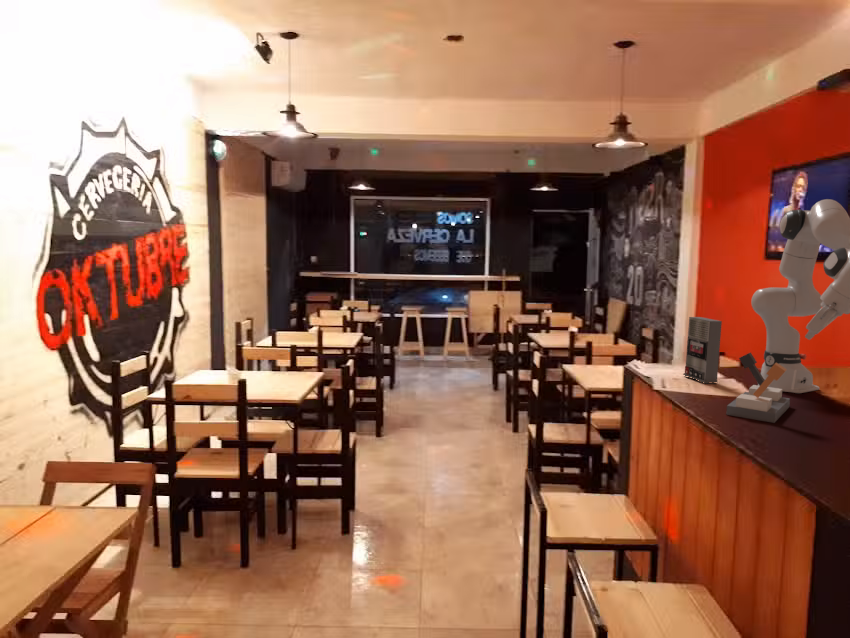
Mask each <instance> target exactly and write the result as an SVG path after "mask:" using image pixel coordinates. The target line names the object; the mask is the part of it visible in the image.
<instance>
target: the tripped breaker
mask: <svg viewBox="0 0 850 638" xmlns="http://www.w3.org/2000/svg"><path fill="white" fill-rule="evenodd" d="M786 370H787V369H785V368H784V367H782V366H781V365H779V364H778V363H777V362H776V363H775V364H774V365H773V366H772V367H771V369H770V370H769V371H768V372H767V373H766V374H767V375H769V376H768V377H767V378H766V379H765V381H764V382H763V383H762V384H761V385H760V387H759V388H758V389H757V390H756V391H755V392H754V394H753V395H754V396H756V397H757V398H759V397H760V396H761V394H762V393H763V392H764V391H765V390H766V389H767V387H768V386H769V385H770V384H771V383H772V382H773V380H774V379H775V380H776V381H777V380H778V379H779V378H780V377H781V376H782V375H783V374H784V372H785V371H786Z"/></svg>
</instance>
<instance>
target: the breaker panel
mask: <svg viewBox="0 0 850 638" xmlns="http://www.w3.org/2000/svg"><path fill="white" fill-rule="evenodd" d="M759 387H760V386H758V384H757V385H756V384H753V385H751V386H750V387H749V388H748V391H745V392H743V393H741V394H739V395H738V396H737V397H736V398H735V399H734V400H733V401H731V402H730V403H728V404H727V405H726V412H725V413H726V415H727V416H733V417H739V418H743V419H750V420H756V421H762V422H767V423H773V424H775V423H776V422H777V421H778V420H779V419H780V418H781V417H782V416H783V414H785V412H786V411H787V410H788V409H790V403H791V398H788V397H782V396H783V391H782V389H779V388H772V387H767V389H766V390H765V391H764V392H763V393H762V394H761V396H760V397H759V398H757V397H756V396H754V395H753V394H754V392H755V391H756V390H757V389H758V388H759Z"/></svg>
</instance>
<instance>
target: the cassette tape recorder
mask: <svg viewBox="0 0 850 638" xmlns="http://www.w3.org/2000/svg"><path fill="white" fill-rule="evenodd" d="M722 325H723V321H722V320H719V319H714V318H713V319H712V318H708V317H702V316H689V317H688V328H687V329H688V330H687V331H688V332H687V341H686V343H687V344H686V356H685V366H684V373H683V375H685V376H689V377H692V378H694V379H697V380H699V381H701V382H700V383H702V382H704V383H706V384H709V383H708V382H717V383H718V373H719V360H720V349H721V335H722V334H721V333H722ZM685 376H684V377H685ZM699 381H698V382H699ZM704 383H703V384H704Z"/></svg>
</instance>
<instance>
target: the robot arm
mask: <svg viewBox="0 0 850 638" xmlns="http://www.w3.org/2000/svg"><path fill="white" fill-rule="evenodd" d="M779 230H780V231H779V232H780V235H781V236H782V238H784V239H787V240H786V243H785V247H784V249H783V252H782V256H781V260H780V263H779V267H778V271H779V273H780V274H781V276H782V277H783V278H785V279H786V280H787V281H788V284H787V287H773V286H772V287H764V288H759V289H757V290H756V291H755V292H754V293H753V295H752V297H751V300H750V301H751V307H752V310H753V311H754V312H755V313H756V314H757V315H758V316H759V317H760V318H761V320H762V321H763V323H764V325H765V330H766V331H765V332H766V343H765V345H766V346H765V350H764V353H763V360H764V362H763V363H762V365H761V368H760V369H761V370H760V373H761V375H762V377H763V378H764V380H765V379H766V378H767V377H768V376H769V375H767V374H766V373H767V372H768V371H769V370H770V369H771V367H772V366H773V365H774V364H775V363H776V362H777V363H778V364H779V365H781V366H782V367H784V368H785V369H787V370H786V371H785V372H784V374H783V375H782V376H781V377H780V378H779V379H778V380H777V381H776V380H775V379H774V380H773V382H772V383H771V384H770V385H769V386H768V387H772V388H779V389H782V392H788V393H793V394H794V393H795V394H802V393H808V392H814V391H818V390H820V386H818V385H816V384H814V375H813V373H812V372H811V371H810V370H809V369H808V368H807V367H806V366H805V365H803V364H802V360H806V359H807V354H805V353H799V350H800V342H801V335H800V332H799V330H797V329H796V328H794V327H793V326H792V325H790V323H789V317H808V316H813V315H814V316H813V317H812V318H811V319H810V321H809V322H808V323H807V324H806V326H805V329H806V330H808V331H807V332H806V334H805V335H804V337H805V339H807V340H809V341H811V340H812V339H813V338H814V337H815V335H818V334H819V333H820V332H822V331H823V330H824V329H825V328H826V327H828V326H829V325H830V324H831V323H832V322H833V321H835V320H836V319H838V317H842V316H843V315H844V314H845V315H849V314H850V216H849V214H848V212H847V210H846V209H845V208H844V207H843V206H842V204H841V203H839V202H838V201H837V200H834V199H829V198H826V199H821V200H819V201H817V202H816V203H815V204H813V205H812V206H811V208H810V210H807V209H806V210H804V209H792V210H789V211H787V212H785V213H784V214H783V216H782V218H781V221H780V223H779ZM821 245H823V246H824V247H827V248H829V249H831V250H833V251H831V252H830V253H829V254H828V255H827V257H826V258H825V260H824V261H823V271H824V273H825V274H826V275H827V276H828V277H829V278H831V279H832V280H833V281H832V282H831V283H830V284H829V286H828V287H826V290H824V291H823V293H820V292H819V291H818V290H817V289H816V288H815V285H814V282H813V276H814V269H815V266H816V264H817V263H816V262H817V258H818V254H819V251H820V247H821ZM756 382H757V381H756ZM757 385H758V386H760V385H759V384H758V382H757Z"/></svg>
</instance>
